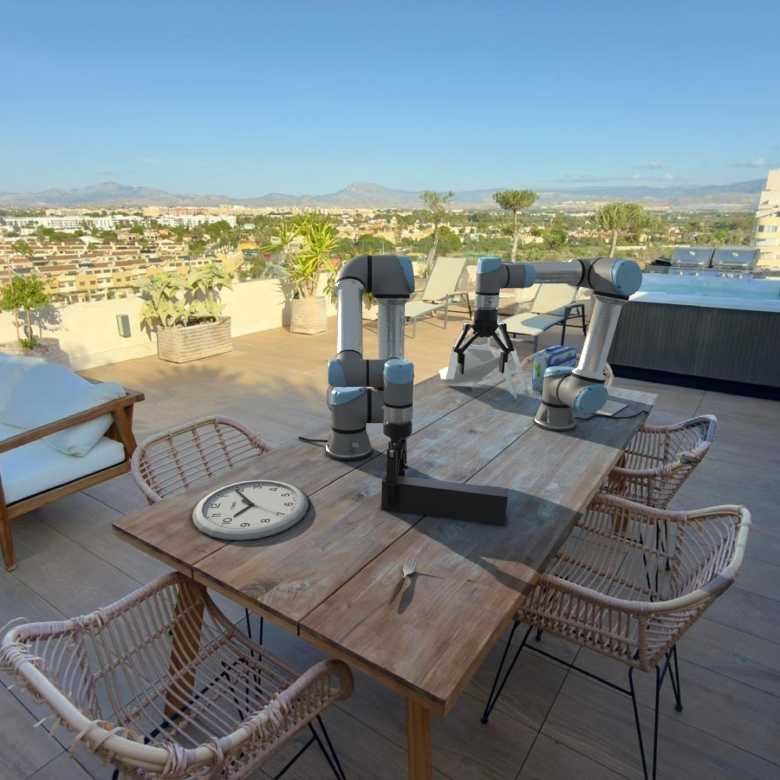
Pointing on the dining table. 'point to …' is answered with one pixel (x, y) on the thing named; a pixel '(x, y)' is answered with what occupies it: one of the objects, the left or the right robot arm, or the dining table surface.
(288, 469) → the dining table surface
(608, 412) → the invitation card
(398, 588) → the fork
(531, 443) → the dining table surface
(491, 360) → the white plastic object
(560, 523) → the dining table surface
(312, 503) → the dining table surface
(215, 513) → the wall clock
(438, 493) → the bar
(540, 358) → the lunch box
